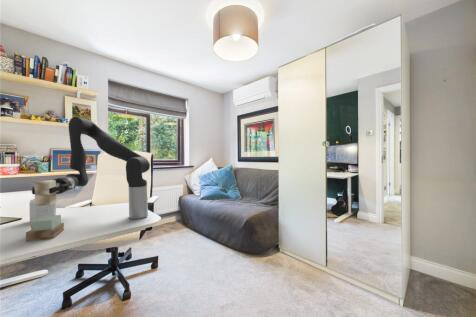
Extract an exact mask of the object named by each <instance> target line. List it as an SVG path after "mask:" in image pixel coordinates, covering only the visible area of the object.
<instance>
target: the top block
mask: <svg viewBox="0 0 476 317" xmlns="http://www.w3.org/2000/svg"><path fill="white" fill-rule="evenodd" d="M61 223H62V215H61V214H56V215H54V216H42V217H40V218H38V219H36V220H33V221H31V222H30V230H31V231H40V230H52V229H53V228H55V227H57V226H58V225H60V224H61Z"/></svg>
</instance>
